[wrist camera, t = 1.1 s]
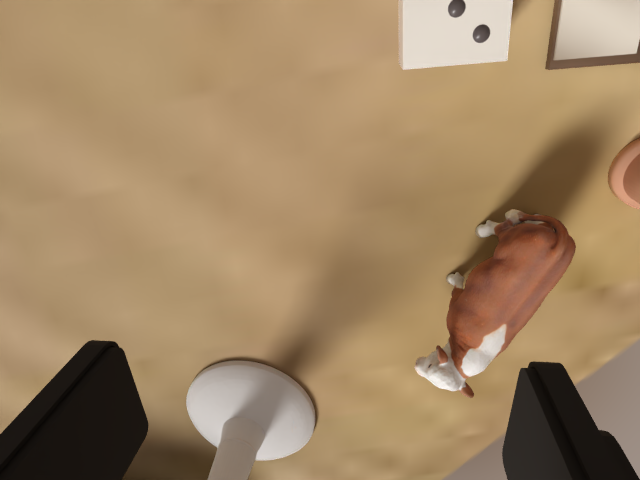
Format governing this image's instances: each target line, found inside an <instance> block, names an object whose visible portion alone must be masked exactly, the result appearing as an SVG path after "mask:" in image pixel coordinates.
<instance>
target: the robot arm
mask: <svg viewBox="0 0 640 480" xmlns="http://www.w3.org/2000/svg"><path fill="white" fill-rule="evenodd" d="M147 432H148V420H147V417H146V414H145V411H144V409H143V406H142V403H141V400H140V397H139V394H138V391H137V388H136V385H135V382H134V379H133V376H132V373H131V370H130V367H129V365H128V362H127V359H126V356H125V353H124V351H123V349H122V348H119V346H118V344H117V343H116V342H113V341H95V340H91V341H89V342H87V343H86V344H85V345H84V346H83V347H82V348H81V349H80V350H79V351H78V352H77V353H76V354H75V355H74V356H73V357H72V358H71V360H70V361H69V362H68V363H67V364H66V365H65V366H64V367H63V368H62V369H61V370H60V371H59V372H58V373H57V374H56V376H55V377H54V378H53V379H52V380H51V381H50V382H49V383H48V384H47V385H46V386H45V387H44V388H43V389H42V390H41V392H40V393H39V394H38V395H37V396H36V397H35V398H34V399H33V400H32V401H31V402H30V403H29V404H28V405H27V407H26V408H25V409H24V410H23V411H22V412H21V413H20V414H19V415H18V416H17V417H16V418H15V419H14V420H13V421H12V423H11V424H10V425H9V426H8V427H7V428H6V429H5V430H4V431H3V432H2V433H1V434H0V480H121V479H122V477H123V476H124V474H125V472H126V471H127V469H128V467H129V465H130V464H131V462H132V460H133V458H134V457H135V455H136V453H137V451H138V450H139V448H140V446H141V444H142V443H143V441H144V439H145V437H146V435H147ZM502 454H503V455H502V456H503V464H504V468H505V472H506V475H507V479H508V480H640V479H639V478H638V476H637V474H636V473H635V471H634V469H633V467H632V466H631V464H630V462H629V460H628V459H627V457H626V455H625V454H624V452H623V450H622V449H621V447H620V445H619V443H618V442H617V441H616V439H615V438H614V436H612V435H611V434H610V433H609V432H606V431H602V430H598V428H597V426H596V425H595V422H594V421H593V419H592V417H591V415H590V413H589V411H588V410H587V408H586V406H585V404H584V402H583V400H582V399H581V397H580V395H579V393H578V391H577V390H576V388H575V386H574V384H573V382H572V380H571V379H570V377H569V375H568V373H567V371H566V369H565V368H564V366H563V365H562V364H560V363H551V362H530V364H529V366H528V368H521V369H520V372H519V377H518V381H517V386H516V390H515V395H514V399H513V404H512V409H511V413H510V418H509V422H508V427H507V432H506V436H505V441H504V446H503V453H502Z"/></svg>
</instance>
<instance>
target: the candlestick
mask: <svg viewBox="0 0 640 480" xmlns="http://www.w3.org/2000/svg"><path fill="white" fill-rule="evenodd" d="M186 404H187V410H188V413H189V416H190V418H191V420H192V422H193V424H194V426H195V427H196V429H197V430H198V431H199V432H200V433H201V435H202V436H203V437H204V438H205V439H206V440H208V441H209V442H210V443H211V444H213V445H214V446H216V447H217V452H216V456H215V459H214V462H213V465H212V468H211V471H210V474H209V477H208V480H248V477H249V474H250V471H251V469H252V466H253V463H254V461H255V460H273V459H278V458H282V457H286V456H288V455H291V454H293V453H295V452H297V451H298V450H300V449H301V448H302V447H303V446H305V444H306V443H307V442H308V441H309V439H310V438H311V436H312V433H313V430H314V426H315V410H314V406H313V404H312V401H311V399H310V397H309V396H308V394H307V393H306V392H305V390H304V389H303V388H302V387H301V386H300V385H299V384H298V383H297V382H296V381H295V380H293V379H292V378H291V377H289V376H288V375H286V374H285V373H283V372H281V371H279V370H277V369H275V368H273V367H270V366H267V365H264V364H261V363H257V362H251V361H226V362H221V363H217V364H214V365H212V366H210V367H208V368H206V369H204V370H203V371H202V372H200V373H199V374H198V375H197V376H196V378H195V379H194V380H193V382H192V384H191V386H190V388H189V390H188V394H187V402H186Z"/></svg>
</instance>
